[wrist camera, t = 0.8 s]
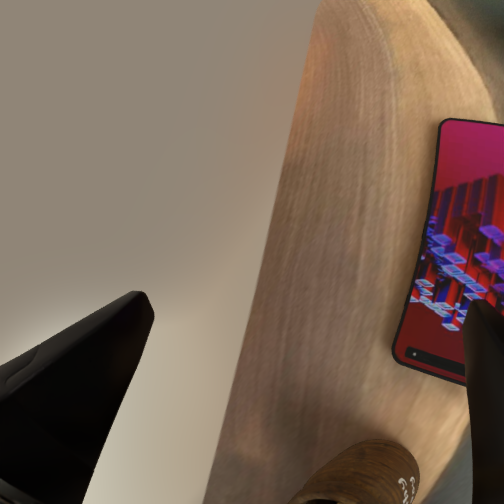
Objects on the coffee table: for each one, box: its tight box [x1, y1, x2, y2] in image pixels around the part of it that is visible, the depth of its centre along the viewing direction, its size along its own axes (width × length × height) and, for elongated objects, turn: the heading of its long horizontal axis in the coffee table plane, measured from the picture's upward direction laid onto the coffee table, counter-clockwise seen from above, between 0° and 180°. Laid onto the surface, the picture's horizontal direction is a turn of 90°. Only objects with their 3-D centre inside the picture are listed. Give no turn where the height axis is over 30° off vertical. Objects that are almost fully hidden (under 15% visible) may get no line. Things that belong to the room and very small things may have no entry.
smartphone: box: [392, 118, 504, 387], centre depth 14 cm, size 8×1×15 cm
